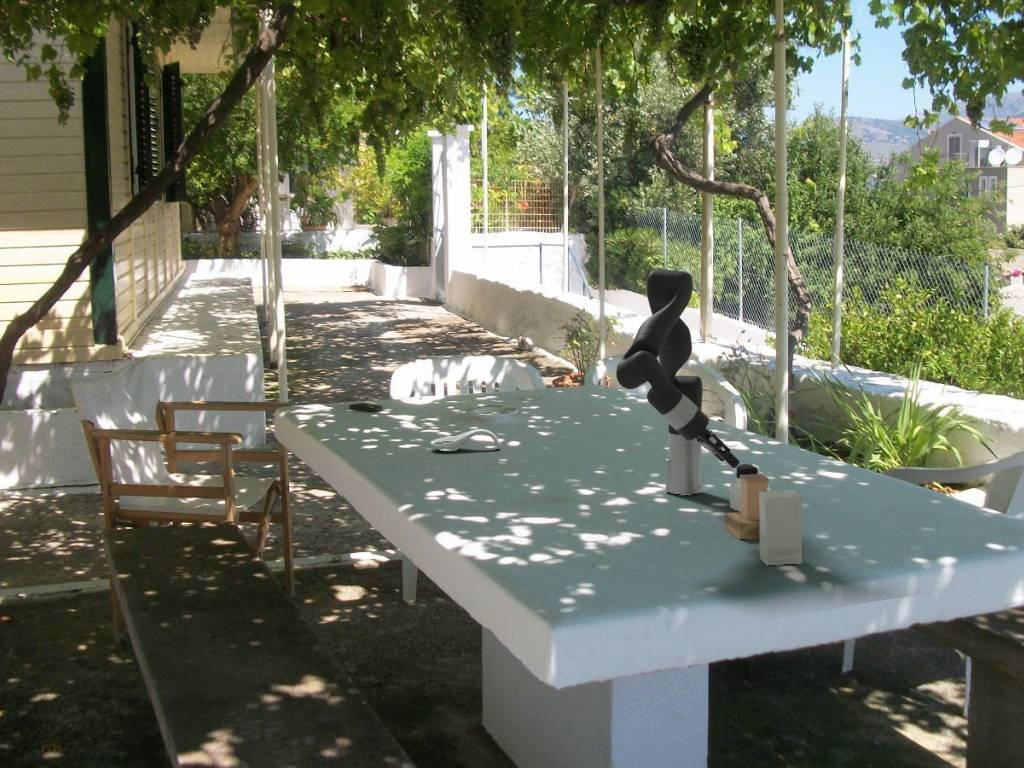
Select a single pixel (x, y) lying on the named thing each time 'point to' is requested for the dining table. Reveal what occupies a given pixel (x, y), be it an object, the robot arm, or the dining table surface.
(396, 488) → the dining table surface
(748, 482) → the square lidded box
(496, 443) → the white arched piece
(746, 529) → the teak block
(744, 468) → the medicine bottle
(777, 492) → the skincare box
